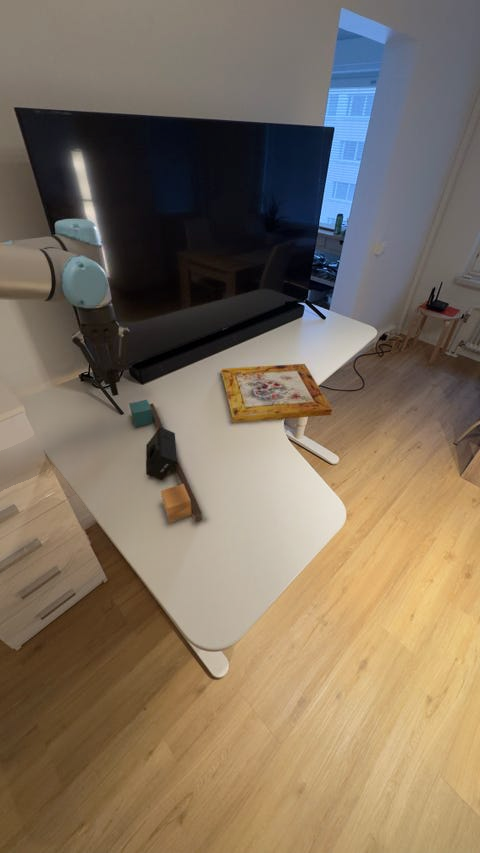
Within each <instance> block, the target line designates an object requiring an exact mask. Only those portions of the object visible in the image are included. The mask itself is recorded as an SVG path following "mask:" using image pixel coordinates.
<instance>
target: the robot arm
mask: <svg viewBox="0 0 480 853" xmlns="http://www.w3.org/2000/svg"><path fill="white" fill-rule="evenodd" d="M54 230H55V231H54V233H55V234H52V235H49V236H42V237H41V236H40V237H34V238H26V239H25V238H24V239H17V240H12V239H9V240H8V241H4V242H2V241H1V242H0V300H1V301H3V300H4V301H7V300H8V301H31V302H32V301H34V302H39V301H40V302H49V303H50V302H52V303H53V302H54V303H69V305H72V306H74V307H75V308H76V311H77V312H76V313H77V316H78V319H79V330H78V331H77V332H76V333H72V334H71V341H72V343H73V344H75V345H76V347H78V348H79V350H80V351H81V353H82V355H83V356H84V358H85V359H86V361H87V363H88V365H89V366H90V369H91V370H92V371H93V373H94V374H98V373H99V374H101V375H102V379H103V383H104V384H105V385H109V388H110V392H111V395H112V397H115V396H119V391H118V386H117V383H120V382H121V378H120V373H119V370H121V369H122V370H123V369H125V367H126V357H127V344H128V340H129V338H130V336H131V331H130V329H129V327H127V326H121V325H120V324H119V322H118V321H117V319H116V314H115V309H114V304H113V302H112V293H111V288H110V285H109V284H110V283H109V279H108V274H107V269H106V264H105V258H104V252H103V245H102V241H101V237H100V233H99V231H98V228H97V225H96V223H95V222H93V221H92V220H90V219H84V218H65V219H61V220H57V221H56V222H55V223H54ZM117 334H118V336H119V345H118V358H116V355H115V350H114V344H113V341H114V340H115V337H116V336H117ZM85 338H86V339H87V340H88V341H90V342H91V343H92V344H94V347H95V352H96V356H97V360H98V363H99V365H98V364H97V363H96V360H95V359H94V356H93V355H92V353H91V352H90V350H89V348H88V346H87V345H86V343H85ZM102 344H106V349H107V353H108V358H109V362H110V366H111V367H109V368H107V365H106V362H105V361H106V360H105V357H104V353H103V352H104V351H103V348H102Z"/></svg>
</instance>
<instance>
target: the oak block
mask: <svg viewBox="0 0 480 853" xmlns="http://www.w3.org/2000/svg"><path fill="white" fill-rule="evenodd" d="M160 493H161V499H162V500H161V501H162V505H163V508H164V511H165V514H166V517H167V520H168V522H169V523H173V522H176V521H178V520H181V519H184V518H187V517H190V516H193V515H192V510H191V500H190V498H189V496H188V493H187V491H186V489H185V486H184V484H181V485H180V484H178V485H175V486H171V487H168V488H164V489H161V490H160Z"/></svg>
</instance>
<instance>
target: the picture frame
mask: <svg viewBox="0 0 480 853" xmlns="http://www.w3.org/2000/svg"><path fill="white" fill-rule="evenodd" d="M220 375H221V379H222V384H223V388H224V393H225V397H226V400H227V405H228V409H229V414H230V418H231V423H232V424H234V423H235V424H236V423H237V424H238V423H248V422H261V421H263V422H264V421H274V420H275V421H276V420H285V419H298V418H310V417H313V418H314V417H323V416H331V415H332V411H333V408H332V407H331V405H330V403H329V402H328V400H327V398H326V397H325V395H324V393H323V392H322V390H321V389H320V387H319V385H318V383H317V382H316V380H315V379H314V377H313V375H312V374H311V372H310V370H309V369H308V367H307V364H305V363H294V364H278V365H277V364H276V365H261V366H259V365H257V366H244V367H243V366H242V367H224V368H221V369H220Z"/></svg>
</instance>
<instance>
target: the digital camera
mask: <svg viewBox="0 0 480 853" xmlns="http://www.w3.org/2000/svg"><path fill="white" fill-rule="evenodd" d="M177 454H178V453H177V442H176V433H175V432H173V431H171V430H169V429H166V428H165V427H164V428H162V427H160V428H159V429H158V430H157V429H156V432H155V433H154V434H153V436H151V438H150V440H149V441H148V442H147V443H146V445H145V455H146V456H145V460H146V461H145V475H146V476H149V477H151V478H155V479H158V480H160V481H163V480H164V478H165V477H167V475H168V474H169V473H170V471H171V470H172V469H173V467H174V465H175V464H176V463H177V458H178V455H177Z"/></svg>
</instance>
